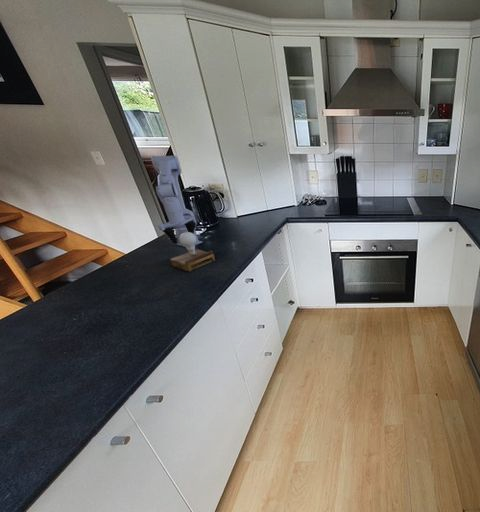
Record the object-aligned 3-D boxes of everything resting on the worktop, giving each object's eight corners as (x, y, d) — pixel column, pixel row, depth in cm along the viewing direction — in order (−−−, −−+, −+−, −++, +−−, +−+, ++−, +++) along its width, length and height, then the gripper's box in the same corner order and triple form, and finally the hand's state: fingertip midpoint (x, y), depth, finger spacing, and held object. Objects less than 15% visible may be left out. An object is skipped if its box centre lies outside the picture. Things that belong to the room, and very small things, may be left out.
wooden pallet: (172, 265, 122) (169, 256, 120) (199, 255, 132) (196, 246, 129) (189, 271, 117) (186, 261, 115) (215, 260, 127) (212, 251, 125)
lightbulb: (189, 252, 127) (182, 230, 122) (204, 251, 127) (197, 229, 122) (181, 258, 121) (173, 235, 116) (196, 257, 122) (189, 235, 117)
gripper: (161, 217, 112) (172, 247, 118) (196, 208, 124) (204, 236, 130) (151, 215, 115) (162, 244, 121) (186, 206, 127) (195, 233, 133)
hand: (183, 240), depth 126 cm, fingers open, 7 cm apart
